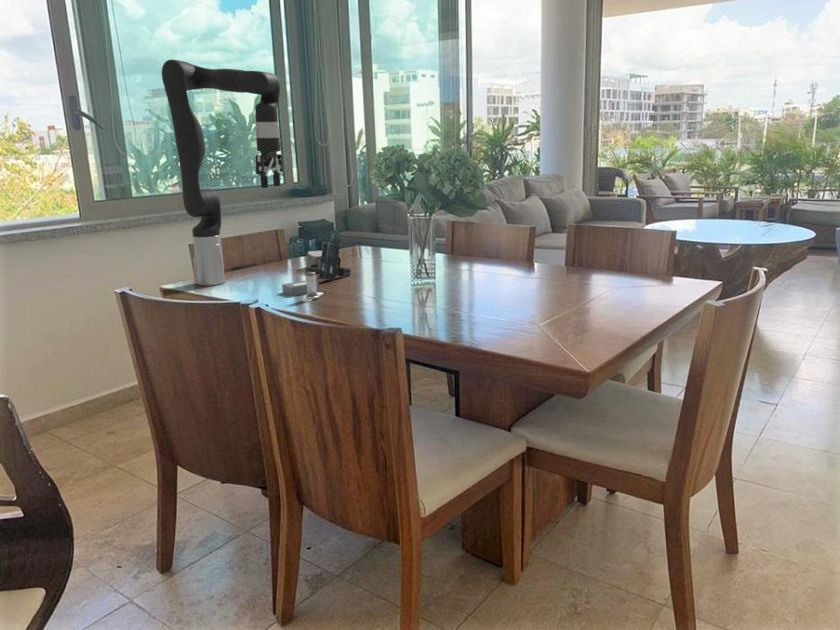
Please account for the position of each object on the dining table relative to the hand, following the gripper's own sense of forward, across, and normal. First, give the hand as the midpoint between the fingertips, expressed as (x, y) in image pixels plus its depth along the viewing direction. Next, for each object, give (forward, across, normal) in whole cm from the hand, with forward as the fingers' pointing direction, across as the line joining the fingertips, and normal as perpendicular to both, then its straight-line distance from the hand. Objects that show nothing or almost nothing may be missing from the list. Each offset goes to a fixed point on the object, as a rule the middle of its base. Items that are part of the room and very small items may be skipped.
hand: (271, 186), depth 217 cm
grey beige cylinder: (+33, -16, -21) cm, 42 cm away
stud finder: (+34, -8, -13) cm, 37 cm away
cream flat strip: (+33, -14, -20) cm, 41 cm away
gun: (+34, +14, -16) cm, 40 cm away
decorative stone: (+34, +31, -2) cm, 47 cm away
